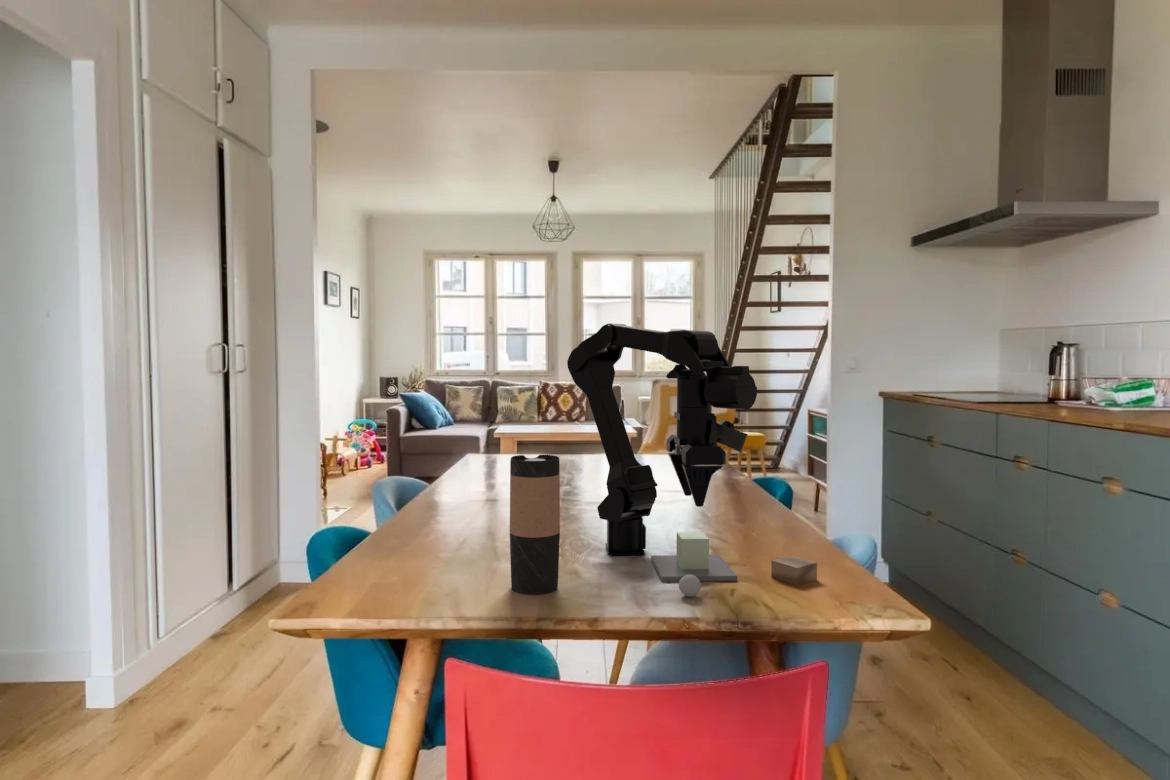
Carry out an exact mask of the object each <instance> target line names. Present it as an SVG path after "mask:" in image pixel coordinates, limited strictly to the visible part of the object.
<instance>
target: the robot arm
mask: <svg viewBox="0 0 1170 780" xmlns="http://www.w3.org/2000/svg"><path fill="white" fill-rule="evenodd" d="M625 348H626V349H627V348H629V349H633V350H639V351H644V352H649V353H655V354H658V355H661V356H662V357H663V358H665V359H666V360H668V361H670V362H672V363H675V365H674V367H673V369H671V370H670V371H668V372H667V374H666V375H665V377H666V378H667V379H670V380H671V379H673V380H674V379H675V380H676V411H674V419H675V420H676V434H670V436H669V437H668V438H667V439H666V451H667V452H668V453H667V455H668V457H669V459H670V462H671V463H672V467H673V470H674V471H675V475H676V476H677V479H678V482H679V484H680V486H681V488H682V492H683V493H684V496H687V497H689V496H692V499H693V502H694V504H695V507H698V508H699V507H700V508H701V507H704V504H705V501H706V498H707V493H708V489H709V486H710V482H711V479H712V477H713V475H714V474H715V473H717V471H719V470H722V469H723V467H724V465H726V464H727V463H726V461H727V459H726V457H727V456H726V455H727V453H726V451H725V450H724V448H723V447H721V446H720V445H718V443H719V444H721V445H724V446H726V447H728V448H730V449H733V450H734V451H737V452H739V453H741V452H742V451H743V448H744V445H745V443H746V440H747V438H748V433H745V432H742V431H740V430H737V429H735V423H734V422H732V421H728V420H726V419H723V420H721V422H719V423H718V422H717V418H718V417H717V415H716V414H715V413H714V412H713V408H716V409H728V410H729V409H730V410H745V411H746V410H747V411H748V410H749V409H751V408H752V407H753V406H754V404H755V402H756V400H757V396H758V395H757V394H758V387H757V385H756V382H755V379H754V376H752V375H751V373H750V367H749V366H748V365H734V366H731V365H730V363H729V361H728V360H727V358H726V356H725V354H724V353H723V351H722V350H721V348H720V346H719V343H718V340H717V337H716V335H715V334H714V333H713V332H711V331H709V330H687V329H680V330H670V331H668V330H667V331H663V330H662V331H661V330H655V329H649V328H642V327H638V326H637V327H636V326H635V327H634V326H629V325H626V324H624V323H613V322H612V323H606V324H603V326H601V327H600V328H599V330H598V331H597V332H595V333H594V334H592V335H591V336H588V337H587V338H586V339H584V340H583V341H580V342H579V344H578V346H576V347H575V348H573V349H572V350H571V352H570V354H569V355H568V359H567V361H566V362H567V369H568V372H569V375H570V376H571V378H572V380H573V383H574V384H575V385H576V386H577V387H578V388H579V389H580V390H581V391H582V392H583V393H584V394H585V396H586V397H587V400H588V403H589V407H590V410H591V412H592V416H593V419H594V422H595V425H596V428H597V433H598V434H599V438H600V441H601V443H602V448H603V450H604V453H605V458H606V460H607V463H608V467H609V469H608V474H607V477H606V478H607V479H606V489H607V495H606V497H604V498H603V500H602V501H601V503H599V505H598V506H597V513H598V516H599V519H600V520H605V521H606V543H605V549H606V551H607V552H606V553H607V555H608V556H624V555H625V556H627V555H628V556H636V555H637V556H640V555H641V556H642V555H645V550H646V548H647V547H646V546H647V540H646V539H647V536H646V535H647V527H646V525H645V524H644V521H643V520H644V518H643V517H648V516H650V515H651V512H652V509H653V505H654V503H655V501H656V499H657V497H658V494H657V493H658V492H657V487H658V486H659V485H658V483H657V482H656V481H655V478H654V475H653V469H652V467H651V466H650V464H645V465H642V464H641V463H640V462H639V461H638V460H637V459H636V457H635V454H634V450H633V447H632V444H631V442H630V437H629V434H628V433H627V430H626V427H625V423H624V420H623V417H622V415H621V411H620V408H619V404H618V402H617V398H616V396H615V393H614V390H613V386H614V380H615V375H616V371H615V364H616V363H618V362H619V360H620V359H621V358H622V355H623V351H624V349H625Z"/></svg>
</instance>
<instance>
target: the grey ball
mask: <svg viewBox="0 0 1170 780" xmlns="http://www.w3.org/2000/svg"><path fill="white" fill-rule="evenodd" d="M701 588H702V584H701V581H699V579H698V578H697V577H696V576H694V575H685V576H683V577H682V578H681V580H680V581H678V589H679V591H680V592H681V594H682V595H683V596H685V597H688V598H692V597H696V596H697V595H698V594H699V593H700V592H701Z"/></svg>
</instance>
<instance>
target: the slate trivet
mask: <svg viewBox="0 0 1170 780" xmlns="http://www.w3.org/2000/svg"><path fill="white" fill-rule="evenodd" d="M650 561H651V563H652V565H653V567H654V568H655V571H656V573H657V574H658V577H659V578H660V580H661V582H662V583H663V582H666V583H667V582H668V583H669V582H671V583H672V582H678V583H679V582H680V580H681V578H682V577H683V576H685V575H694V576H696V577H697V578H698V579H699V581H700V582H738V575H737V573H735V571H734V570H733V569H732V568H731V567H730V566H729V564H727V562H726V561H725V560H724V559H723V558H722V556H720V554H709V569H681V568H680V566H679V565H678V563H677V562H676V554H675V555H673V554H672V555H670V554H669V555H667V554H665V555H659V554H658V555H650Z"/></svg>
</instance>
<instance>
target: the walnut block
mask: <svg viewBox="0 0 1170 780" xmlns="http://www.w3.org/2000/svg"><path fill="white" fill-rule="evenodd" d="M770 563H771V565H770V566H771V572H770V574H771V577H770V578H772V579H776V580H779V581H782V582H786V583H788V584H790V583H791V585H794V586H800V585H803V584H807V583H810V582H814V581H817V580H818V562H816V561H813V560H810V559H805V558H802V557H799V556H796V555H788V556H784V557H780V558H776V559H771V562H770Z"/></svg>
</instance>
